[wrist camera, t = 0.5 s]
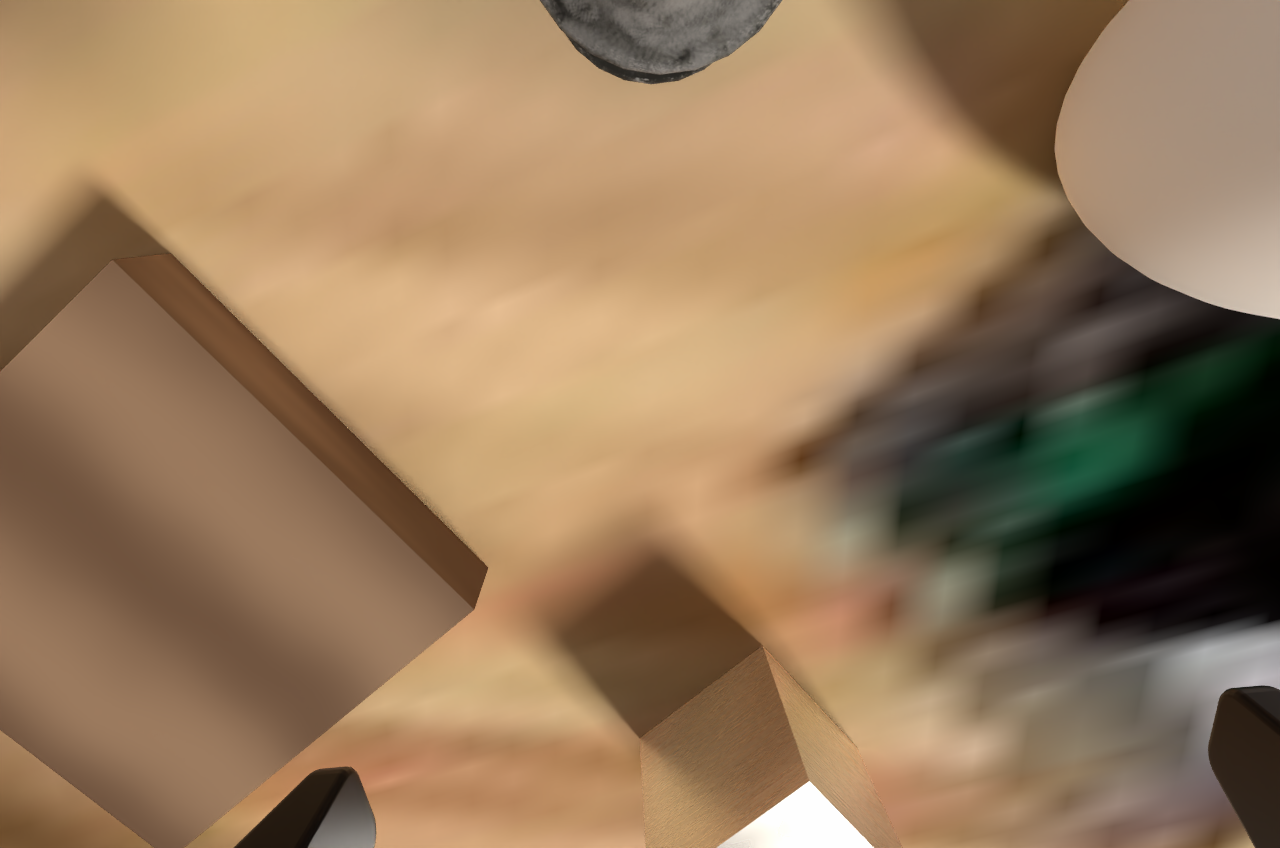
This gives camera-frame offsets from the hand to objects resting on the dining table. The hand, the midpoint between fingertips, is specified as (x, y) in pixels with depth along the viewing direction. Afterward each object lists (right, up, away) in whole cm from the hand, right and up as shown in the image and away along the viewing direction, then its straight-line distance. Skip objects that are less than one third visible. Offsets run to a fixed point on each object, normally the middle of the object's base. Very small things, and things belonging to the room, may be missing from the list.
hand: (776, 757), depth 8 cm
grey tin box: (+2, -7, +17) cm, 18 cm away
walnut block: (-14, 0, +15) cm, 21 cm away
